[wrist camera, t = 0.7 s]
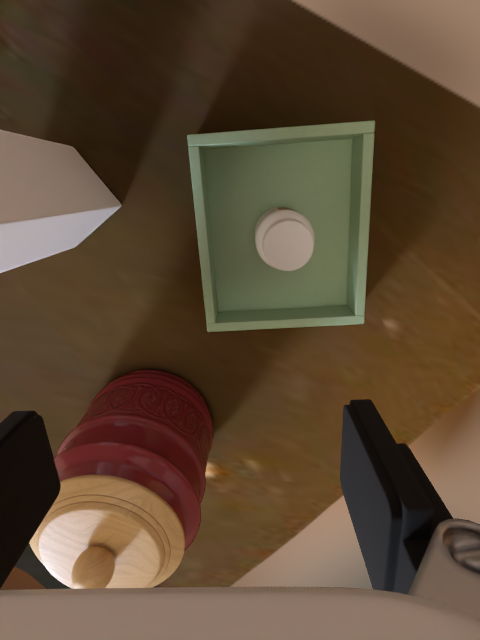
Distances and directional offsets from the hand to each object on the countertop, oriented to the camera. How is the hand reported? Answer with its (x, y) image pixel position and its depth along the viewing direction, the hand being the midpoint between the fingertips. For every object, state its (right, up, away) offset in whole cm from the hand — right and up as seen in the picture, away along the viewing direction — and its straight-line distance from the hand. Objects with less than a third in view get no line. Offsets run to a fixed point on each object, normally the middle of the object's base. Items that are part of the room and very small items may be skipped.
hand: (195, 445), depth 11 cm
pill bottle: (+5, +12, +21) cm, 24 cm away
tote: (+5, +12, +21) cm, 24 cm away
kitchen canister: (-8, -7, +28) cm, 30 cm away
